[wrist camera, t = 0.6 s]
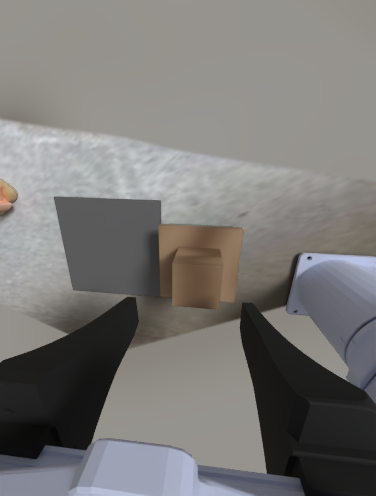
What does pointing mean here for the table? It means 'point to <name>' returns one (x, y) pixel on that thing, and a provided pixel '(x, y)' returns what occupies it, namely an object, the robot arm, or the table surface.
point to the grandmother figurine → (6, 196)
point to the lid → (199, 264)
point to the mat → (111, 244)
